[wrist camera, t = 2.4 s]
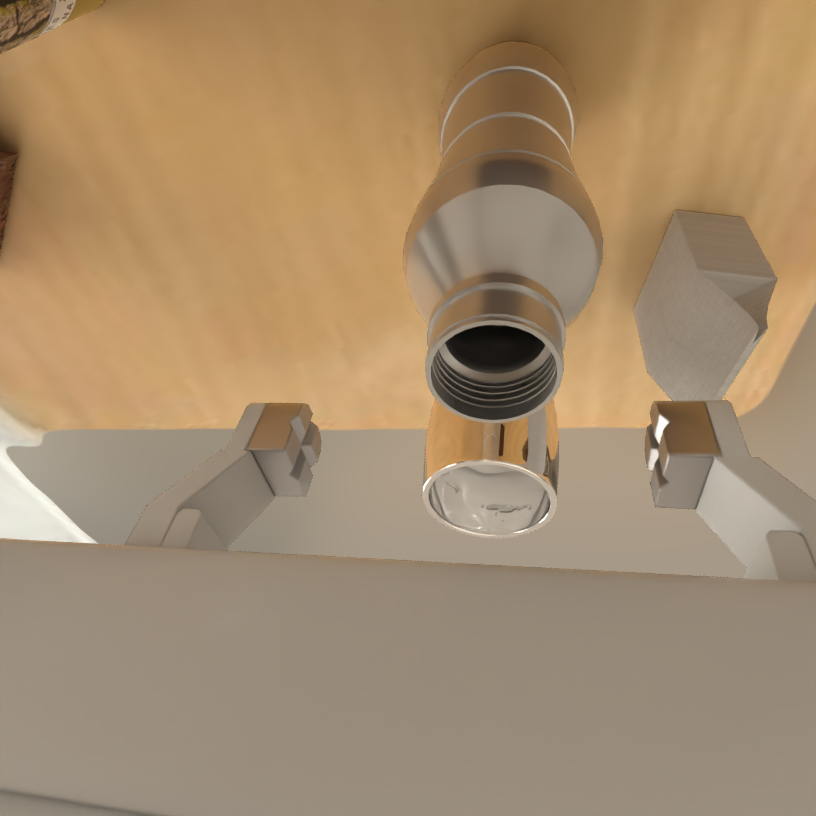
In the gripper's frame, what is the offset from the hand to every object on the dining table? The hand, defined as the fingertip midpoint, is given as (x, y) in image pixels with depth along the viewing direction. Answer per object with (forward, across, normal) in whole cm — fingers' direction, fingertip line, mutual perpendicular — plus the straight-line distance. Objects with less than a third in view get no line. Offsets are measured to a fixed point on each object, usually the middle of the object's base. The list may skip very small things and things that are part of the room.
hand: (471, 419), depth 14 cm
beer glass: (+22, +1, +13) cm, 26 cm away
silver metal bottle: (+22, 0, 0) cm, 22 cm away
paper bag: (+22, -10, +10) cm, 26 cm away
